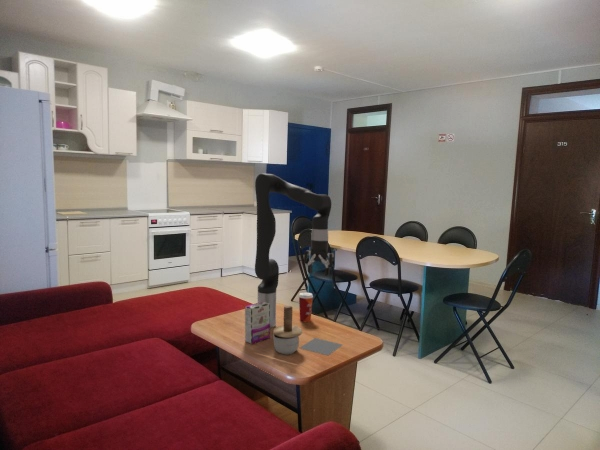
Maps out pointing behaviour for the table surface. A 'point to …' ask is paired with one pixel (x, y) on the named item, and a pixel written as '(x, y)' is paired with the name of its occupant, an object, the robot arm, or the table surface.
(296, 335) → the oak lid
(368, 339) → the table surface
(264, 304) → the candy bar box
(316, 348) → the rubber mat
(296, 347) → the teacup
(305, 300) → the paper cup
